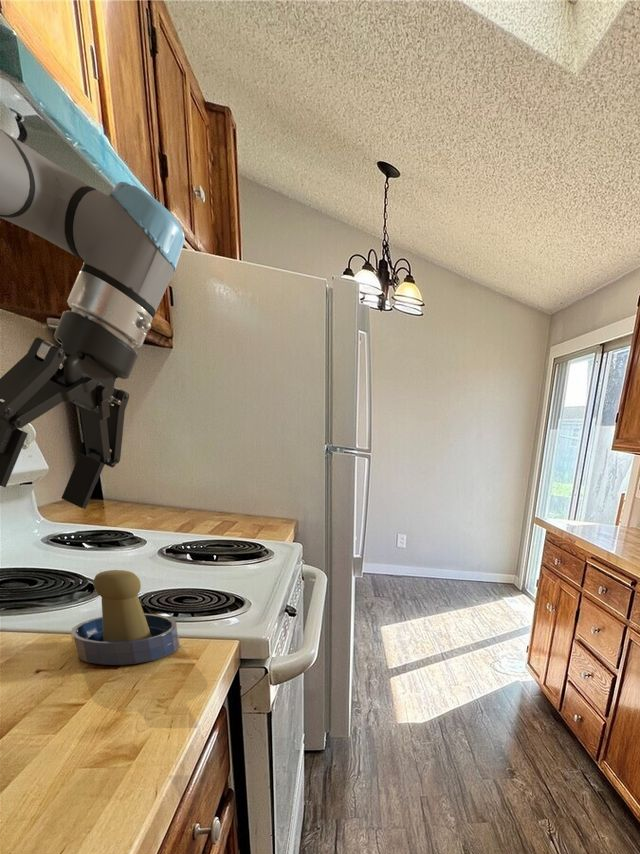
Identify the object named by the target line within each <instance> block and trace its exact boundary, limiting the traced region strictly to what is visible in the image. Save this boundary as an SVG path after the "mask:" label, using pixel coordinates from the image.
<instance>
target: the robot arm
mask: <svg viewBox="0 0 640 854" xmlns="http://www.w3.org/2000/svg"><path fill="white" fill-rule="evenodd" d="M0 219H2V220H4V221H6V222H9V223H11V224H13V225H15V226H18V227H20V228H22V229H24V230H26V231H28V232H31V233H33V234H35V235H37V236H39V237H40V238H42V239H44V240H46V241H48V242H49V243H52V244H53V245H55V246H57V247H58V248H60V249H62V250H64V251H66V252H68V253H70V254H71V255H73V256H75V257H76V258H77V259H79V260H81V261H82V262H83V264H82V266H81V268H80V270H79V273H78V275H77V277H76V279H75V282H74V284H73V286H72V289H71V291H70V293H69V296H68V298H67V300H66V302H67V305H68V306H69V308H71V310H68V309H67V310H66V311H65V310H64V311H63V312H62V314H61V317H60V319H59V322H58V324H57V326H56V329H55V331H54V335H53V336H54V337H53V338H54V339H55V341H56V342H58V344H60V345H61V346H60V347H59V346H57V345H56V344H54V343H51V342H50V341H47V340H45V339H43V338H42V337H40V336H37V337H35V338H34V340H33V342H32V343H31V345H30V347H29V349H28V351H27V353H26V354H25V355H24V356H23V357H22V358H21V359H19V361H17V363H15V364H14V365H13V366H12V367H11V368H10V369H9V370H8V371H7V372H6V373H5V374H4V375H2V376H1V377H0V487H2V488H7V485H8V483H9V480H10V478H11V475H12V473H13V471H14V469H15V466H16V463H17V461H18V459H19V456H20V454H21V451H22V449H23V446H24V444H25V443H26V442H25V441H26V439H27V437H28V434H29V433H28V432H26V431H24V430H22V428H24V427H26V426H27V425H29V424H30V423H32V422H34V421H35V420H37V419H38V418H40V417H41V416H43V415H45V414H46V413H47V412H49V411H51V410H52V409H54V408H55V407H57V406H59V405H60V404H62V403H64V402H65V403H66V402H67V403H68V402H69V403H70V402H71V403H72V404H75V406H76V408H77V410H79V413H80V418H81V425H82V433H83V439H84V446H85V453H86V455H85V454H83V453H81V452H80V453H79V455H78V458H77V460H76V462H75V464H74V467H73V470H72V471H71V474H70V476H69V479H68V481H67V483H66V487H65V489H64V491H63V493H62V496H61V500H64V501H66V502H68V503H70V504H72V505H74V506H76V507H78V508H81V509H82V510H83V509H84V510H86V509H87V506H88V505H89V502H90V499H91V498H92V494H93V493H94V490H95V488H96V485H97V483H98V481H99V478H100V476H101V474H102V471H103V470H104V467H105V466H108V467H109V468H114V467H116V465H117V464H119V463H120V461H121V455H122V447H123V446H122V445H123V434H124V425H125V424H124V422H125V413H126V409H127V405H128V402H129V399H130V394H129V392H127V391H125V390H123V389H122V388H120V387H117V386H116V385H115V384H116V380H117V379H118V378H120V379H121V380H127V379H129V378H130V376H131V374H132V371H133V369H134V367H135V365H136V361H137V360H138V357H139V356H138V351H137V350H135V348H137V349H139V348H142V346H143V344H144V342H145V339H146V337H147V334H148V332H149V331H150V330H151V328H152V322H153V319H155V316H156V314H157V311H158V308H159V306H160V304H161V301H162V299H163V298H164V294H165V293H166V290H167V288H168V287H169V283H170V282H171V280H172V277H173V275H174V272H175V273H176V271H177V265H178V262H179V259H180V256H181V253H182V250H183V247H184V244H185V241H186V240H185V239H186V237H185V233H184V230H183V228H182V227H181V224H180V223H179V221H178V220H177V219H176V217H175V216H174V215H173V214H172V212H171V211H169V209H167V208H166V206H164V205H163V204H162V203H160V201H158V200H157V199H156V198H154V197H153V196H152V195H151V194H150V193H147V192H146V191H144V189H141V188H140V187H138V186H137V185H132V184H131V183H129V182H126V181H119V182H117V183H116V184H115V186H114V187H113V189H112V190H110V193H109V195H107V194H106V193H105V192H103V191H100V190H98V189H97V188H95V187H92V186H90V185H89V184H87V183H86V182H84V181H83V180H81V179H79V178H78V177H76V176H75V175H73V174H72V173H70V172H69V171H67V170H66V169H64V168H63V167H61V166H59V165H58V164H56V163H54V162H53V161H51V160H50V159H48V158H46V157H45V156H43V155H42V154H40V153H39V152H37V151H36V150H34V149H33V148H31V147H30V146H29V145H26V144H24V143H23V142H22V141H20V140H19V139H17V138H15V137H14V136H12V135H10V134H9V133H8V132H6V131H4V130H3V129H1V128H0ZM1 400H3V401H1Z"/></svg>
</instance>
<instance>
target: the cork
mask: <svg viewBox="0 0 640 854" xmlns="http://www.w3.org/2000/svg"><path fill="white" fill-rule="evenodd" d="M93 587H94V590H95V592H96V593H97V595H99V596H100V597H101V617H102V619H103V642H121V641H134V640H140V639H146V638H150V637H152V636H151V633H150V630H149V627H148V624H147V621H146V618H145V615H144V614H145V612H144V609H143V607H142V604H141V601H140V597H139V594H140V591H141V589H142V588H141V587H142V585H141V580H140V578H139V576H138V575H136V574H135V573H134V572H133V571H130V570H126V569H125V570H124V569H110V570H104V571H100V572H99V573H97V574H96V575H95V577H94V578H93Z"/></svg>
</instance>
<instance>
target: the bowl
mask: <svg viewBox="0 0 640 854" xmlns="http://www.w3.org/2000/svg"><path fill="white" fill-rule="evenodd" d="M144 615H145V618H146V621H147V624H148V627H149V630H150V633H151V636H152V637H150V638H146V639H140V640H134V641H121V642H103V619H102V616H100V617H95V618H90V619H88V620H85V621H82V622H80V623H79V624H76V625H75V626H74V627H72V629H71V631H70V637H71V640H72V644H73V645H72V646H73V650H74V653H75V655H76V656H77V659H79V660H81V661H83V662H86V663H90V664H96V665H102V666H104V665H105V666H128V665H136V664H137V665H138V664H143V663H147V662H153V661H156V660H158V659H161V658H165V657H167V656H169V655H171V654H173V653H175V652H176V651H177V650H178V649H179V648H180V637H179V631H178V623H177V621H175V620H174V619H173V618H170V617H167V616H164V615H159V614H155V613H154V614H153V613H144Z"/></svg>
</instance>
